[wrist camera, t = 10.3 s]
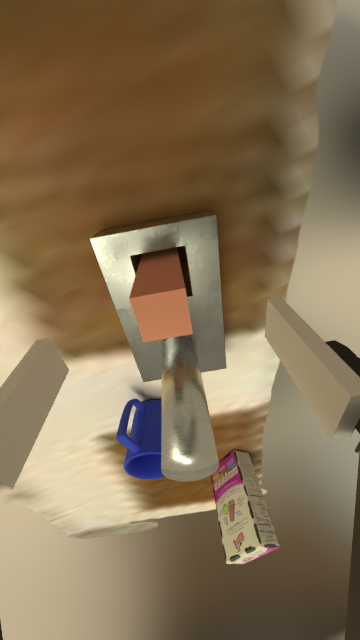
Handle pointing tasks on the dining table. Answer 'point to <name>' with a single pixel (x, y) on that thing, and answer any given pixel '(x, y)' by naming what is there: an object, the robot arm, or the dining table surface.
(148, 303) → the orange rectangular block
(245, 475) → the candy bar box
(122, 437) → the mug
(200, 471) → the gray socket post base
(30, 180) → the dining table surface
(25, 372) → the robot arm
